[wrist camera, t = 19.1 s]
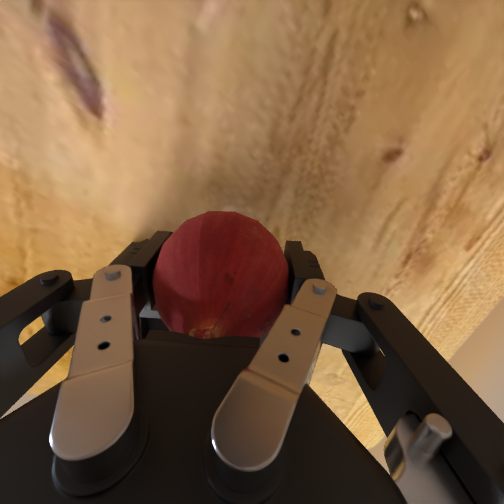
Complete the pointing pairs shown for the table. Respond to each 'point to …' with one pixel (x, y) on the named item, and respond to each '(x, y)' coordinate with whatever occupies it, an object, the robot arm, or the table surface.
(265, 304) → the onion
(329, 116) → the table surface
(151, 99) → the table surface
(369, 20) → the table surface
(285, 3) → the table surface
